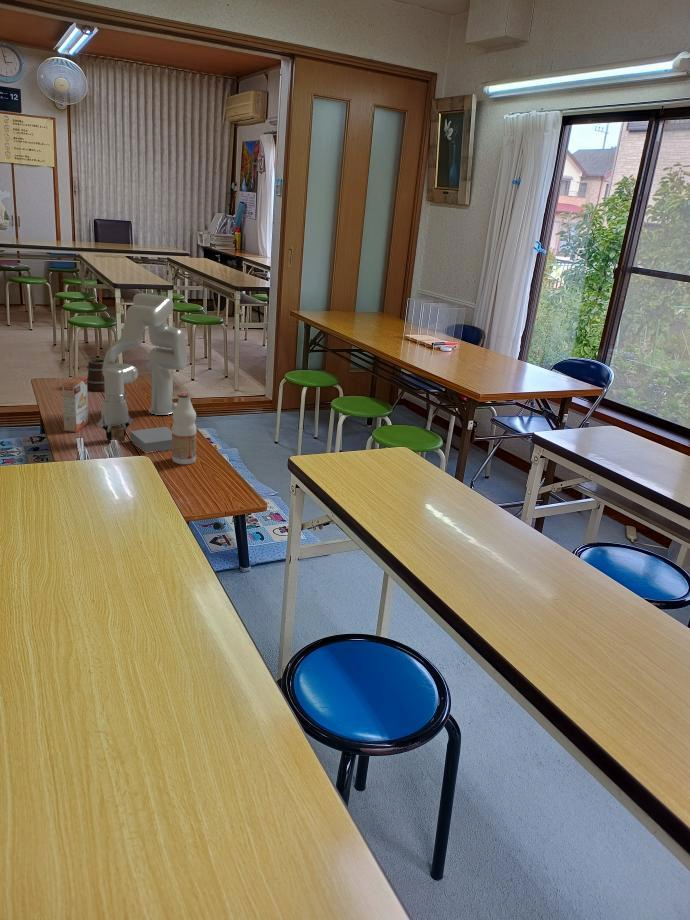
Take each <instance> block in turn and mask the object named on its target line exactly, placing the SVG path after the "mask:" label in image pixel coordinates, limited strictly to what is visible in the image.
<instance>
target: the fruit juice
mask: <svg viewBox="0 0 690 920" xmlns="http://www.w3.org/2000/svg"><path fill="white" fill-rule="evenodd" d="M191 397H192V394H191V393H190V392H188V391H182V392H178V394H177V399H178V400H177V402H176V403H177V406H176V408H175V410H174V411H173V415H172V421H173V423H172V428H171V431H172V450H171V451H172V453H171V459H172V462H173V463H175V464H178V465H190V464H194V463H195V462H196V460H197V425H196V419H197V412H196V410H195V409H194V407H193V404H192V402H191Z"/></svg>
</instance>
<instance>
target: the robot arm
mask: <svg viewBox="0 0 690 920" xmlns="http://www.w3.org/2000/svg"><path fill="white" fill-rule="evenodd" d="M132 301H133V304H132V305H130V306H129V307H128V308H127V311H126V315H125V319H124V323H123V327H122V332H121V334H120V335H121V336H120V337H119V339H117V341H115V342H114V343H113V344H112V345H110V347H109V348H108V349H107V351H106V353H105V356H104V359H103V360H104V363H103V368H102V373H103V376H104V384H105V391H104V400H103V401H102V406H101V418H100V420H98V423H97V426H99V427H100V428H102V429H103V430H104V431H105V437H106V439H107V441H109V442H110V440H111V432H110V429H111V426H115V425H120V426H121V427H123V428H124V440H125V439H126V435H127V433H126V431H127V428H129V426H130V425H131V424H132V423H133V422H134V420H133V418H131V416H129V409H128V405H127V400H126V399H125V398H127V397H128V393H125V384H131V383H133V382H135V381H136V380H137V379H138V377H139V370H138V368H137V367H136V366H134V365H132V364H128V363H120V362H116V360H117V358H118V357H119V355H120V354H122V353H123V352H125V351H127V350H130V349H132V348H136V347H138V346H140V345H142V341H143V336H144V333H145V329H146V327H147V331H148V336H149V341H150V343H151V345H153V346H155V347H153V348H151V349H150V351H149V352H148V360H149V365H150V373H151V374H150V376H151V380H150V381H151V407H149V408H148V413H149V414H150V413H151V414H150V415H152V414H155V415H154V416H156V415H168V416H170V415H169V414H172V413H173V411H174V410H175V408H176V406H177V403H178V402H173V375H172V372H171V370H175V371H182V370H185V368H186V367H187V365H188V355H187V353H188V352H187V344H186V337H185V333H184V332H183V330H182V329H180V328H178V327H174V326H173V327H172V326H169V325H168V323H167V319H168V318H169V317H170V316H171V314H173V311H174V302H173V300H172V298H171V297H168V296H165V295H157V294H153V293H152V294H151V293H145V292H144V293H143V292H142V293H140V292H139V293H137V294H135V295H134V296H133V300H132Z"/></svg>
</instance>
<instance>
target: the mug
mask: <svg viewBox="0 0 690 920" xmlns="http://www.w3.org/2000/svg"><path fill="white" fill-rule="evenodd" d="M103 363H104V359H100V358H97V359H96V358H95V359H90V360H89V362H88V365H87V366H86V369H87V377H86V378H87V392H88V391H89V392H92V393H93V392H94V393H103V392H104V393H105V384H104V376H103V373H102V368H103Z"/></svg>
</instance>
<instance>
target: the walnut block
mask: <svg viewBox="0 0 690 920" xmlns="http://www.w3.org/2000/svg"><path fill="white" fill-rule="evenodd" d="M110 432H111V440H113V439H114V440H117V441H119V442H120V443H123V442H122V441H124V442H125V439H124V428H123V427H121V424H117V425H111V429H110Z"/></svg>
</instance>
